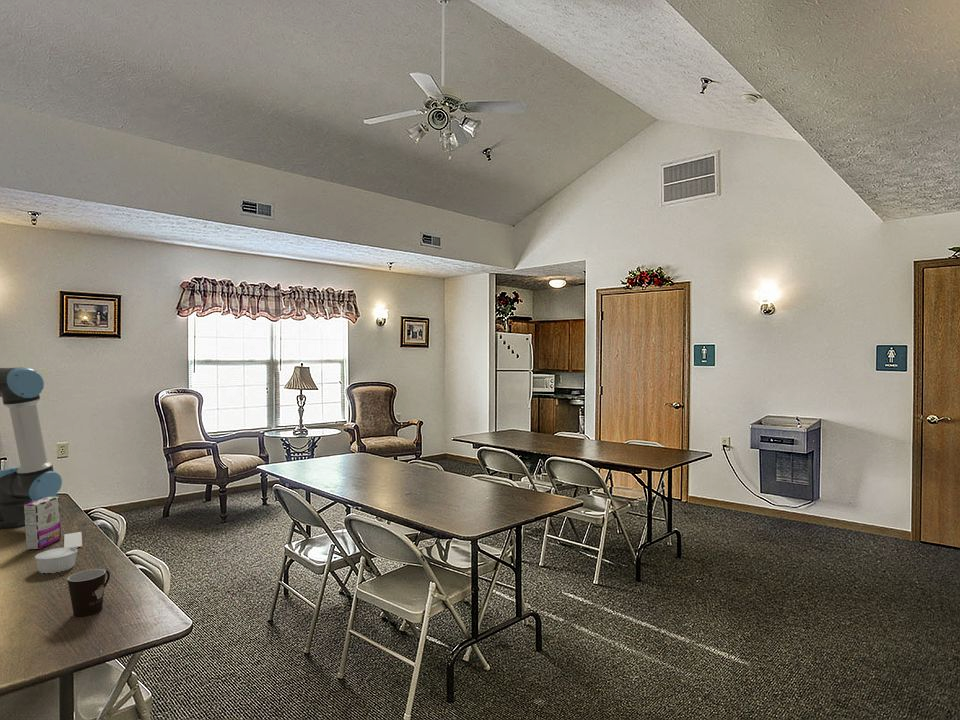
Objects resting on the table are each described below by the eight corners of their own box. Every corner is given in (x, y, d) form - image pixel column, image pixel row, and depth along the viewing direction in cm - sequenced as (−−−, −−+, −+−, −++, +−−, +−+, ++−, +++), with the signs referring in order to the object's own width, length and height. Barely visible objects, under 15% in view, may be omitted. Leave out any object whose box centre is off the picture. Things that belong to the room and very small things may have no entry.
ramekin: (81, 568, 191) (81, 552, 191) (39, 578, 183) (38, 561, 183) (73, 560, 199) (72, 544, 198) (32, 569, 190) (31, 553, 190)
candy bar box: (48, 540, 220) (46, 496, 220) (61, 539, 220) (60, 496, 220) (24, 550, 209) (23, 504, 209) (38, 550, 209) (36, 504, 208)
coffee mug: (78, 622, 152) (76, 583, 152) (62, 614, 157) (61, 577, 157) (124, 604, 162) (123, 569, 162) (108, 598, 167) (107, 563, 167)
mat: (64, 536, 224) (64, 534, 224) (81, 533, 228) (81, 531, 228) (63, 550, 208) (63, 548, 208) (82, 547, 211) (82, 545, 211)
